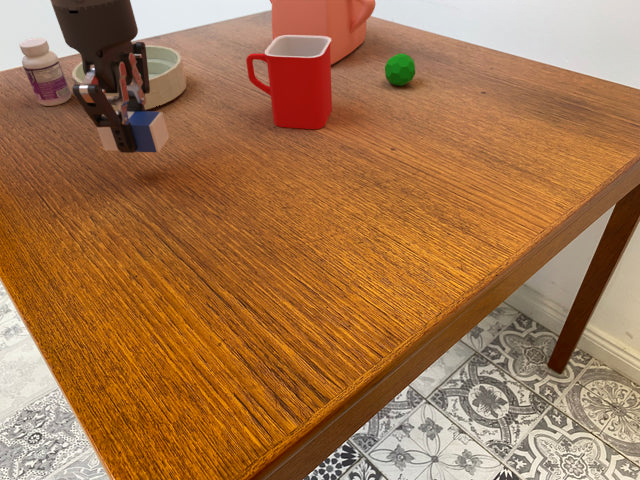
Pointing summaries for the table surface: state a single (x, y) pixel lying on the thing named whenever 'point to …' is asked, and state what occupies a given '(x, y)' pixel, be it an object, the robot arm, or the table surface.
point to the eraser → (140, 132)
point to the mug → (297, 80)
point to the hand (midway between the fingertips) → (135, 141)
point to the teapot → (324, 21)
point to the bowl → (155, 76)
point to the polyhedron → (400, 69)
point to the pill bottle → (44, 72)
